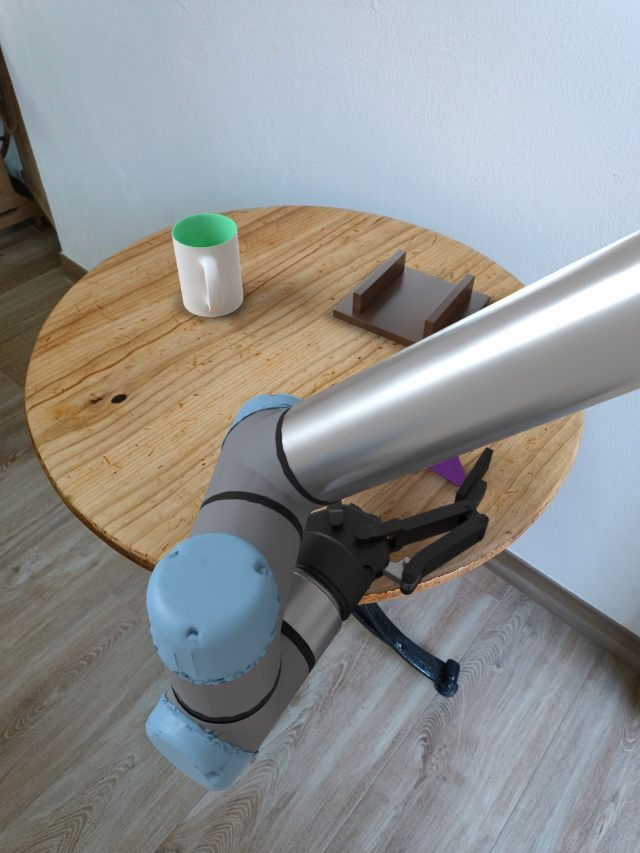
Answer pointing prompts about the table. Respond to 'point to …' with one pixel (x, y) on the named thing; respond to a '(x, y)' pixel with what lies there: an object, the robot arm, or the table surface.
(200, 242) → the mug
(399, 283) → the rack
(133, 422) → the table surface
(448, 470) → the arrowhead
